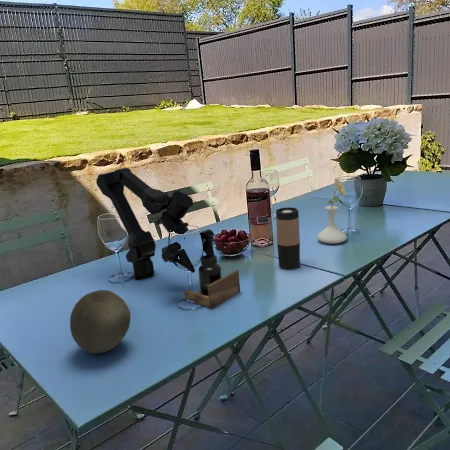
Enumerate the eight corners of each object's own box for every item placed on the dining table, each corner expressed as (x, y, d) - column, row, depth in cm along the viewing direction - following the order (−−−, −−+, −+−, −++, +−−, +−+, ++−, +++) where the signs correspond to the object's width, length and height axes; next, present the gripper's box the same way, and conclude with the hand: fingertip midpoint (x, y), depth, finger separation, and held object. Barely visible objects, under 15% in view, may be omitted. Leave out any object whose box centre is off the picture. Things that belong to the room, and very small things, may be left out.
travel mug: (273, 267, 149) (270, 211, 144) (286, 260, 154) (284, 206, 149) (292, 271, 144) (290, 214, 138) (304, 264, 149) (303, 208, 144)
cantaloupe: (78, 372, 98) (66, 313, 94) (73, 343, 110) (62, 290, 106) (139, 354, 103) (131, 297, 99) (128, 328, 116) (120, 277, 111)
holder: (185, 300, 130) (182, 278, 128) (213, 284, 139) (211, 264, 137) (212, 308, 123) (210, 286, 121) (240, 291, 132) (238, 270, 130)
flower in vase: (335, 248, 162) (334, 182, 156) (311, 242, 171) (309, 180, 164) (355, 239, 171) (355, 176, 164) (331, 234, 179) (330, 174, 172)
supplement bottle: (207, 301, 126) (203, 263, 123) (196, 293, 132) (192, 257, 129) (227, 294, 130) (224, 257, 126) (215, 287, 135) (212, 251, 132)
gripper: (185, 233, 146) (212, 270, 142) (142, 250, 132) (171, 291, 128) (200, 213, 138) (229, 251, 135) (156, 229, 125) (187, 272, 121)
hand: (204, 266), depth 130 cm, fingers open, 9 cm apart
